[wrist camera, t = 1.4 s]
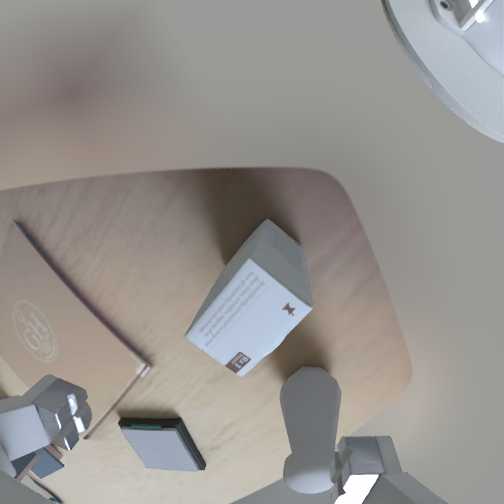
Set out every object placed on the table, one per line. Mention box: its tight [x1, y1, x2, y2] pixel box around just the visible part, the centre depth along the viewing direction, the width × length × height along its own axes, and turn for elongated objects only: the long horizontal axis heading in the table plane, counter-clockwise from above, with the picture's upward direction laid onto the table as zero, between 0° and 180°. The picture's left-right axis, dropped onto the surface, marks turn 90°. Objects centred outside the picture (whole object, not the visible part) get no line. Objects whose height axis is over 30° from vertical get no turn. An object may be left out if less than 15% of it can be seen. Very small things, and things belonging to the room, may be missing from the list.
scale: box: [118, 418, 206, 471], centre depth 34 cm, size 9×9×2 cm
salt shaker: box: [280, 366, 341, 494], centre depth 23 cm, size 6×6×13 cm
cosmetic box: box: [185, 219, 313, 377], centre depth 22 cm, size 6×4×12 cm
